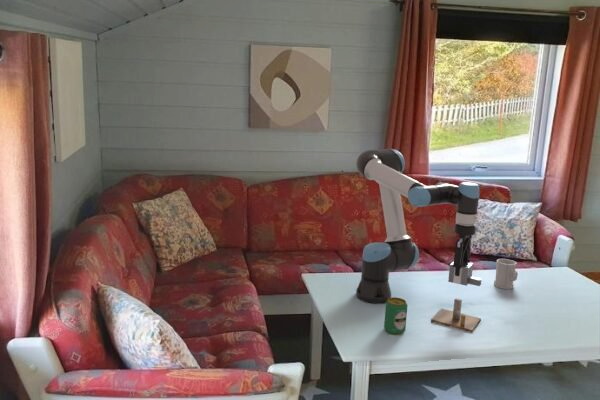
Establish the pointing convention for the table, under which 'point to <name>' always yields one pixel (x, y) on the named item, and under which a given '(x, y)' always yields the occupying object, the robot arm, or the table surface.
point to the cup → (505, 273)
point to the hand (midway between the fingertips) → (459, 280)
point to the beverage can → (395, 316)
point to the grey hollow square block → (465, 274)
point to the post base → (454, 323)
